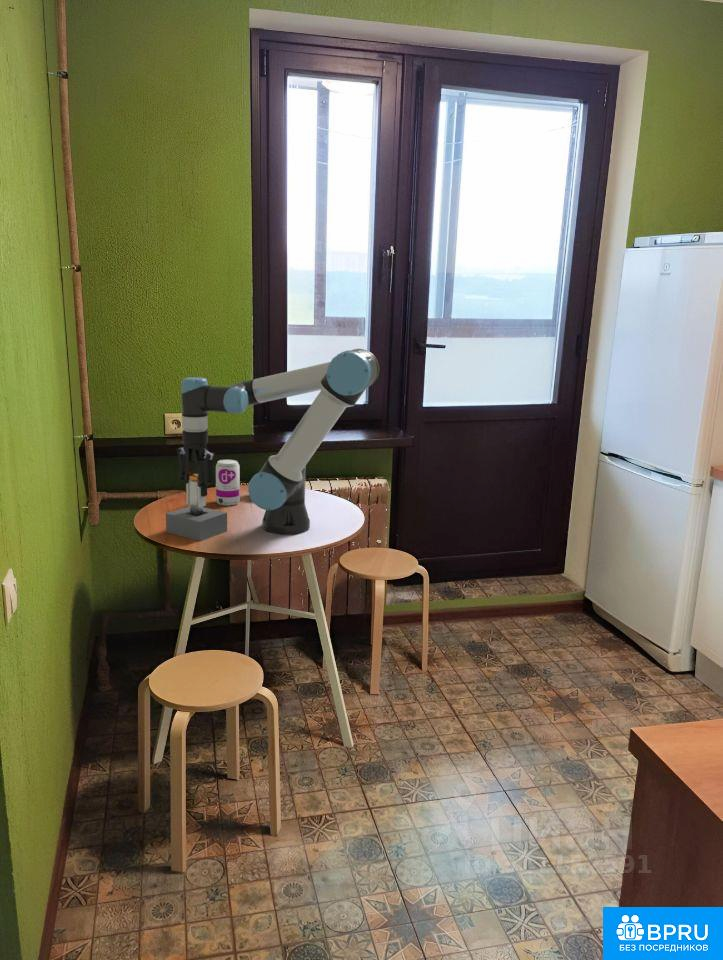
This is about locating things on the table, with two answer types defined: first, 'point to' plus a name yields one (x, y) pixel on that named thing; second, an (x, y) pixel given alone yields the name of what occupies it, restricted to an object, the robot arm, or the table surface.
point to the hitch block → (196, 523)
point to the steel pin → (194, 495)
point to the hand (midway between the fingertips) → (196, 504)
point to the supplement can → (227, 482)
